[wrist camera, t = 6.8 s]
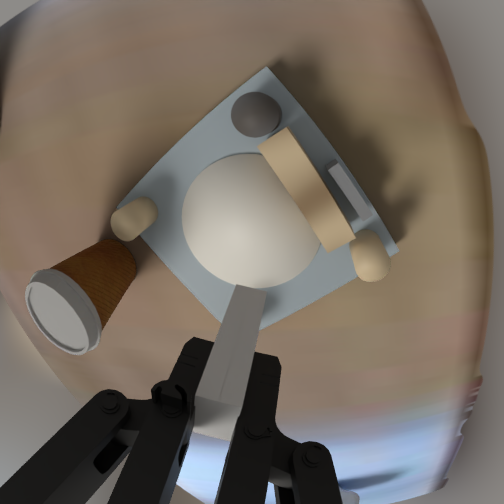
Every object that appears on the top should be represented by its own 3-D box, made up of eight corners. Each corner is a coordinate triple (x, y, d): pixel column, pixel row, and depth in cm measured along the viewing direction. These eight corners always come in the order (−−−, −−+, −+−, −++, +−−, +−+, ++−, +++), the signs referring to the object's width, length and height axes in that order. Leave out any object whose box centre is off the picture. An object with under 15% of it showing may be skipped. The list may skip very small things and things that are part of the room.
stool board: (123, 202, 30) (93, 221, 25) (268, 69, 22) (259, 57, 17) (241, 332, 35) (231, 365, 30) (395, 244, 27) (411, 272, 22)
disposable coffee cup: (128, 216, 31) (56, 269, 20) (160, 290, 34) (110, 360, 24) (75, 236, 33) (10, 283, 22) (105, 299, 37) (55, 356, 26)
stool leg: (231, 110, 22) (221, 109, 20) (265, 87, 21) (260, 82, 18) (321, 241, 26) (323, 257, 23) (355, 223, 25) (361, 237, 22)
